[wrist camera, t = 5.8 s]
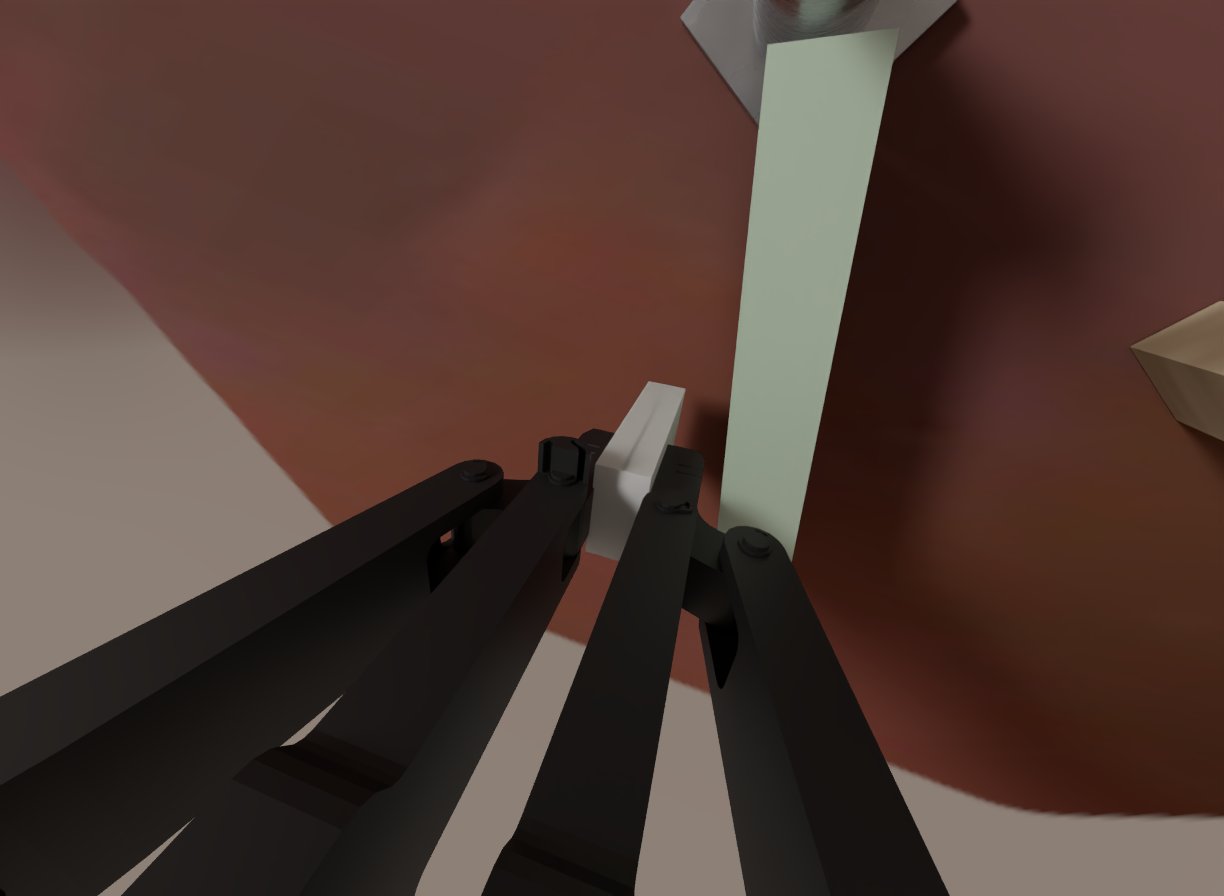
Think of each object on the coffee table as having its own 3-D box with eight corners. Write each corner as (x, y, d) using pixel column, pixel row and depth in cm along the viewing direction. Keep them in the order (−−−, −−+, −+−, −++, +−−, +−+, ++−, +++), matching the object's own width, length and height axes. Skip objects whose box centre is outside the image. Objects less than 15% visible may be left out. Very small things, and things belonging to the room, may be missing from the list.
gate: (761, 120, 13) (767, 44, 7) (837, 114, 12) (899, 27, 7) (717, 539, 19) (704, 653, 14) (765, 547, 19) (770, 667, 14)
